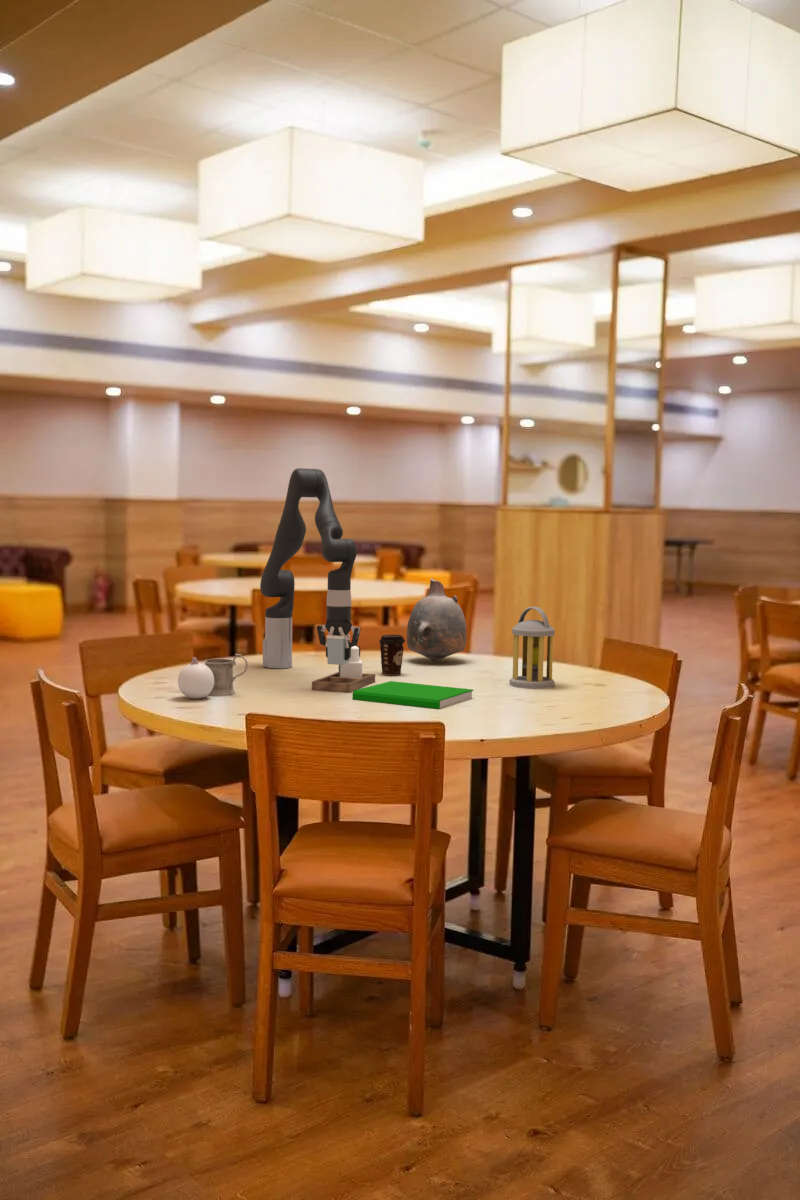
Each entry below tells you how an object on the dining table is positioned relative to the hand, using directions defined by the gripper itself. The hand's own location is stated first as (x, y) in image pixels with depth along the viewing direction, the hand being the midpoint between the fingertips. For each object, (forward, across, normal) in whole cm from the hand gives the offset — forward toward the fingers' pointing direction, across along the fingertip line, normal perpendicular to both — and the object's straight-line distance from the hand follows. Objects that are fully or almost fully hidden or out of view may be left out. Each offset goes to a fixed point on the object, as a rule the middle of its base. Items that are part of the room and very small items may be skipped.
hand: (338, 659), depth 366 cm
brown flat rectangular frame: (+9, 0, +5) cm, 10 cm away
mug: (+9, -27, -22) cm, 36 cm away
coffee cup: (+9, +6, +34) cm, 36 cm away
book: (+10, +27, -8) cm, 30 cm away
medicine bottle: (+9, 0, +11) cm, 14 cm away
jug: (+9, +11, +69) cm, 70 cm away
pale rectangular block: (+1, 0, 0) cm, 1 cm away
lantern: (+9, +54, +31) cm, 63 cm away
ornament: (+9, -31, -33) cm, 46 cm away
